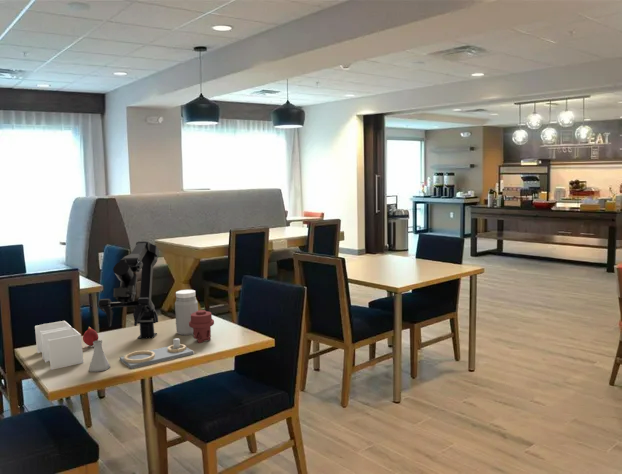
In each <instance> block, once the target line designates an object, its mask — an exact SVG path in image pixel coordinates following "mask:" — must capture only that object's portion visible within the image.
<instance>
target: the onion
mask: <svg viewBox="0 0 622 474" xmlns="http://www.w3.org/2000/svg"><path fill="white" fill-rule="evenodd" d="M98 340H99V334H98V332H97V331H96V330H95V329H93V328H92V327H90V326H88V328H87V330H86V331H84V333H83V335H82V341H83V342H84V344H85V345H86V346H88V347H94V344H93V342H94V341H98Z"/></svg>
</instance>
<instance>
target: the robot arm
mask: <svg viewBox="0 0 622 474" xmlns="http://www.w3.org/2000/svg"><path fill="white" fill-rule="evenodd" d="M159 250H160V249H159V248H158V247H157V245H156V244H153V243H151V242H150V241H148V240H140V241H139V240H138V241H136V243H135V246H134V247H133V249H132V251H131V252H130V254H128V255H124V256H123V258H122V259H119V262H116V264H115V265H114V266H113V272H114V273H113V274H115V276H116V278H117V279H118V281H120V286H118V287H115V288H113V298H115V299H116V300H115V301H112V299H110V298H100V299H99V300H98V302H97V307H98V308H99V309H100V310H101V311H102V312H104V314H106V315H105V316H106V319H107V323H108V327H110V328H111V327H112V323H113V318H114V311H113V310H114V308H125V307H127V308H128V307H130V308H131V307H132V308H133V307H134V310H133V313H132V314H133V315H132V316H133V321H134V324H133V325H134V327H136V326H137V325H139V333H140V334H139V336H138V337H137V339H142V340H143V339H154V338H155V337H156V336H157V335H158V333H157V332H155V324H156V323H159V315H158V313H157V311H156V309H155V307H156V306H155V304H154V303H153V301H152V293H153V292H152V290H153V289H152V288H153V276H154V275H153V273H154V268H155V267H154V266H155V265H156V264H157V262H158V258H159V255H160V251H159ZM140 271H141V274H140V275H141V277H140V292H139V298H138V299H137V300H135V296H136V295H137V292H136V290H137V282H138V276H137V274H136V273H139V272H140Z"/></svg>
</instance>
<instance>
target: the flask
mask: <svg viewBox="0 0 622 474" xmlns="http://www.w3.org/2000/svg"><path fill="white" fill-rule="evenodd" d="M93 344H94V345H93V354H92V357H91V361H90V364H89V368H88V370H89V371H88V372H94V373H95V372H96V373H97V372H103V371H107V370H108V369H110V368H111V366H110V363H109V361H108V359H107V357H106V354H105V353H104V349H103V347H102V346H103V345H102V344H103V340H101V339H100V340H99V339H98V341H94V342H93Z"/></svg>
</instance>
